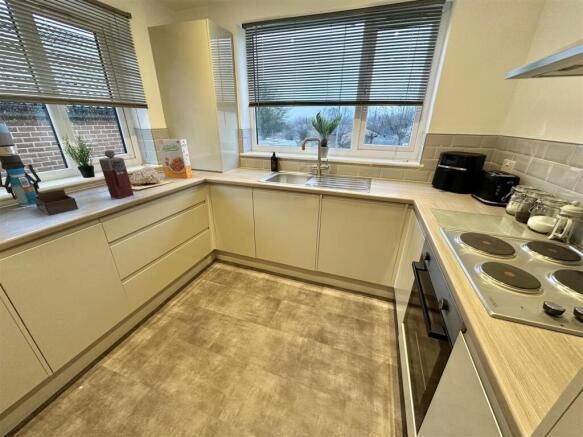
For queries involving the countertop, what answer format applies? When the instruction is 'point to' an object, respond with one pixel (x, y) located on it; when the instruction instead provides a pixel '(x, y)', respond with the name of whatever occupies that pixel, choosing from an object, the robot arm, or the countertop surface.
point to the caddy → (55, 202)
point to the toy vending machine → (116, 176)
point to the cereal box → (175, 158)
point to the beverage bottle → (22, 187)
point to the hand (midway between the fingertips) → (26, 196)
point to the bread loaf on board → (146, 178)
